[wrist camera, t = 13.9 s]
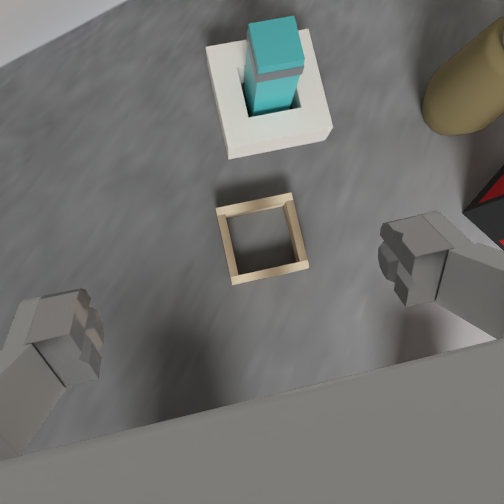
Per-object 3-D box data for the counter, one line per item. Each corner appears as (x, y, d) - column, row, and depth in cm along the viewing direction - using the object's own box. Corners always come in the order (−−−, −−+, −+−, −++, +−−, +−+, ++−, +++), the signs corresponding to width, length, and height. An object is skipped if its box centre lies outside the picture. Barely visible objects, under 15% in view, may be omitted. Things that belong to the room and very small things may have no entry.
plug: (251, 124, 44) (257, 68, 33) (243, 89, 45) (247, 22, 34) (288, 117, 44) (306, 60, 34) (279, 82, 45) (295, 14, 34)
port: (228, 159, 44) (228, 147, 40) (207, 66, 45) (205, 46, 41) (325, 140, 44) (333, 127, 41) (302, 49, 45) (308, 28, 42)
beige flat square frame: (232, 285, 42) (232, 284, 40) (216, 212, 43) (215, 208, 41) (305, 269, 43) (309, 267, 41) (288, 197, 43) (291, 192, 41)
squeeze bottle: (457, 67, 46) (601, -77, 28) (493, 127, 46) (661, 19, 28) (398, 96, 45) (507, -33, 28) (433, 158, 45) (567, 67, 27)
